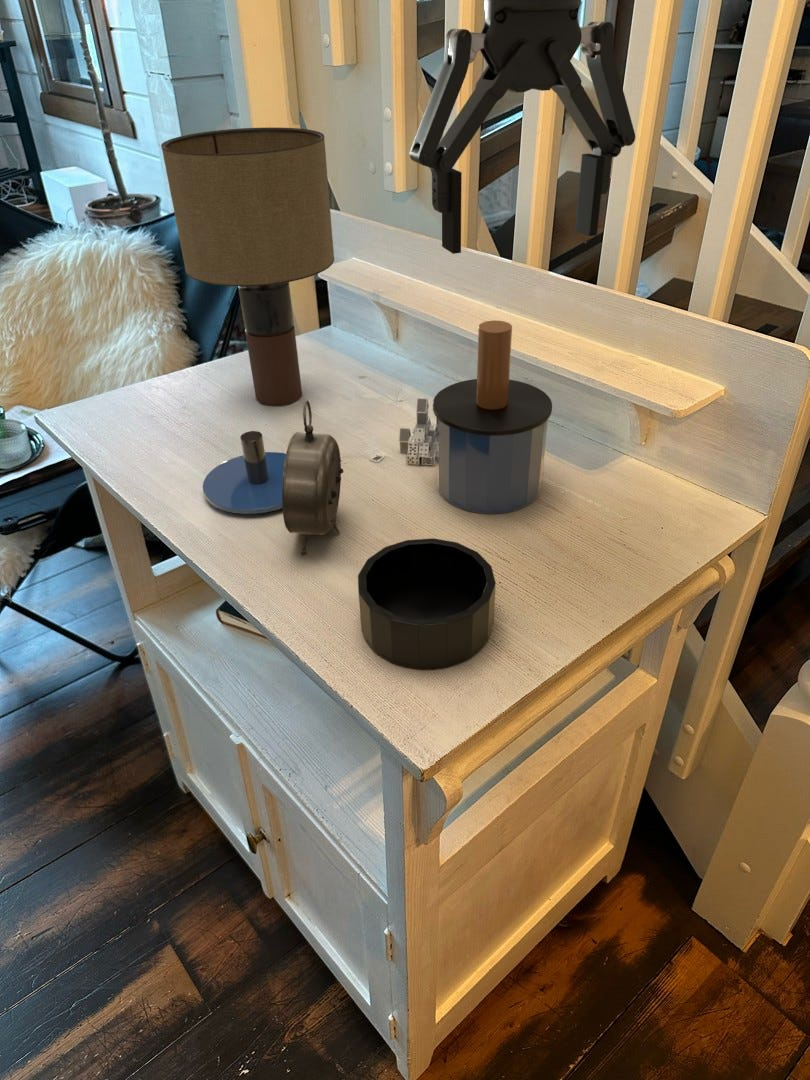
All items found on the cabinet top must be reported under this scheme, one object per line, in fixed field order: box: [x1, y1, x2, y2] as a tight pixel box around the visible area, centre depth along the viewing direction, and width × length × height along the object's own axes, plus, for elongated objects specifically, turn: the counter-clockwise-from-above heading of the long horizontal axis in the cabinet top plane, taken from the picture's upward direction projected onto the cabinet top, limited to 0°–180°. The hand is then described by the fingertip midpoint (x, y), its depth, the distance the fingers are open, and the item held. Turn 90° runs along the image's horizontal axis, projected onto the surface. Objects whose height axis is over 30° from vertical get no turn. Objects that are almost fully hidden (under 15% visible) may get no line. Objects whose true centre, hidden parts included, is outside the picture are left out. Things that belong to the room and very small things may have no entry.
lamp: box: [160, 127, 335, 407], centre depth 105 cm, size 20×20×35 cm
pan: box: [357, 538, 497, 671], centre depth 72 cm, size 13×13×6 cm
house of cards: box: [369, 397, 437, 467], centre depth 99 cm, size 9×9×8 cm
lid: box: [432, 320, 553, 436], centre depth 84 cm, size 14×14×10 cm
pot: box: [435, 416, 549, 515], centre depth 90 cm, size 13×13×10 cm
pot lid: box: [202, 430, 286, 515], centre depth 92 cm, size 14×14×7 cm
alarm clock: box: [281, 399, 344, 556], centre depth 81 cm, size 11×5×16 cm, turn 174°
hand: (520, 241), depth 70 cm, fingers open, 13 cm apart
